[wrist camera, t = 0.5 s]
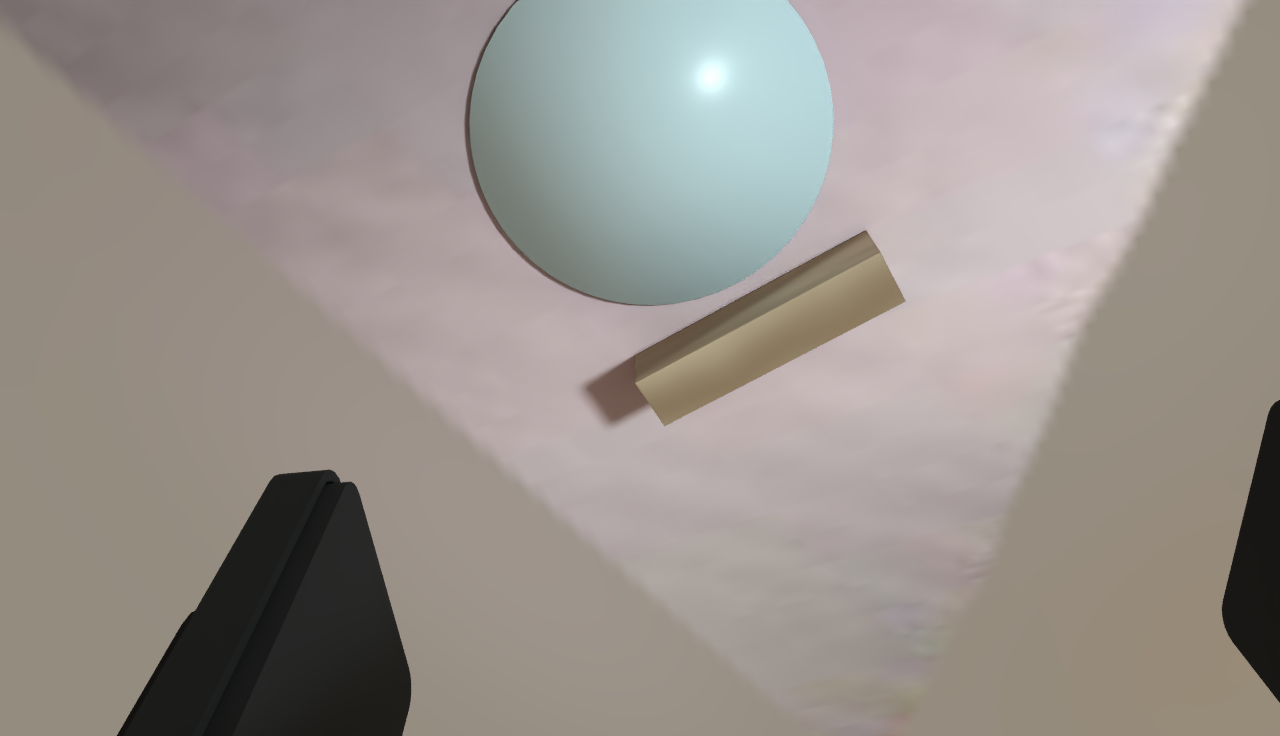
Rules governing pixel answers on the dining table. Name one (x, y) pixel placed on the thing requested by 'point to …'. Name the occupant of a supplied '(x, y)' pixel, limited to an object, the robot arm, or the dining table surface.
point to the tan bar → (767, 328)
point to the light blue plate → (651, 140)
